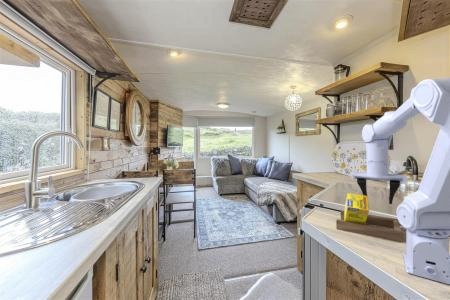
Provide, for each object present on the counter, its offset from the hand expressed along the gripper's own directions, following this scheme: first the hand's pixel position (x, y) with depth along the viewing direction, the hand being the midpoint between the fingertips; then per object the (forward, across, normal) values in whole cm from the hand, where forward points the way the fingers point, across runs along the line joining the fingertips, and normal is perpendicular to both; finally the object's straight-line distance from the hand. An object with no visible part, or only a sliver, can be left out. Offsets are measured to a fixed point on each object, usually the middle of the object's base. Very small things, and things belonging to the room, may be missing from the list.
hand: (377, 201), depth 66 cm
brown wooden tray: (+10, +2, 0) cm, 10 cm away
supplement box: (+8, +7, -1) cm, 11 cm away
